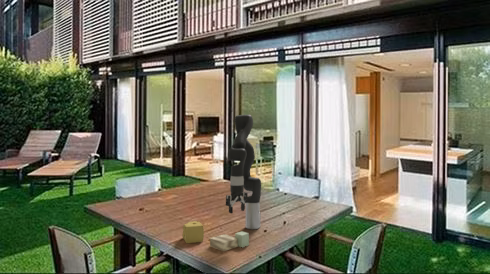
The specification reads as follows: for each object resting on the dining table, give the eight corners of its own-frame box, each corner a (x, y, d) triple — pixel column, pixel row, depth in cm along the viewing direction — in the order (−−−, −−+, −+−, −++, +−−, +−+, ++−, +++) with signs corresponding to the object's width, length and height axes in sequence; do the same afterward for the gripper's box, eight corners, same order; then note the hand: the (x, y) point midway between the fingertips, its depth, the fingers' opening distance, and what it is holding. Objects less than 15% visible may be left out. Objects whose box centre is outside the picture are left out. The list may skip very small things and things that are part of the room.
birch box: (224, 242, 227) (224, 234, 226) (237, 247, 219) (237, 238, 219) (210, 246, 219) (210, 238, 218) (223, 251, 211) (223, 243, 211)
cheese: (182, 238, 232) (182, 222, 232) (199, 236, 236) (199, 220, 235) (185, 244, 223) (185, 226, 222) (204, 241, 226) (204, 225, 226)
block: (241, 243, 225) (241, 231, 224) (248, 245, 221) (248, 233, 221) (235, 245, 221) (235, 233, 220) (242, 247, 217) (242, 235, 217)
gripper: (242, 181, 226) (242, 208, 227) (222, 184, 217) (222, 212, 218) (250, 183, 220) (250, 211, 221) (231, 186, 211) (231, 215, 212)
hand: (236, 211), depth 220 cm, fingers open, 8 cm apart
